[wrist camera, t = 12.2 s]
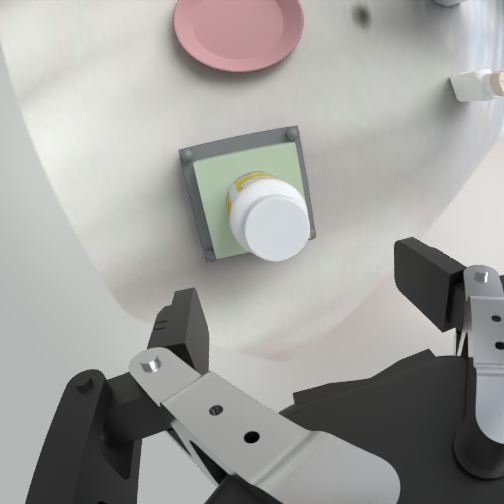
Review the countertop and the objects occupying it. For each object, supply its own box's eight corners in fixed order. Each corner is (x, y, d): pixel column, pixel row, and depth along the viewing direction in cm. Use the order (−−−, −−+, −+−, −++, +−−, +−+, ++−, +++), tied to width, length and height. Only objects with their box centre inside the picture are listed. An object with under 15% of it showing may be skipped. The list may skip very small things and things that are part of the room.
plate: (209, -38, 25) (209, -46, 23) (317, 3, 28) (322, -3, 26) (154, 52, 29) (150, 47, 27) (269, 95, 32) (272, 92, 30)
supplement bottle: (265, 241, 29) (286, 288, 20) (214, 209, 28) (212, 244, 18) (299, 192, 28) (337, 218, 19) (248, 158, 26) (264, 166, 17)
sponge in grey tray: (289, 127, 33) (308, 123, 26) (306, 227, 37) (327, 249, 30) (183, 149, 33) (172, 151, 25) (207, 249, 37) (204, 277, 30)
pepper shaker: (447, 76, 32) (493, 69, 23) (463, 72, 32) (508, 66, 23) (456, 102, 33) (503, 101, 24) (472, 97, 33) (517, 96, 24)
